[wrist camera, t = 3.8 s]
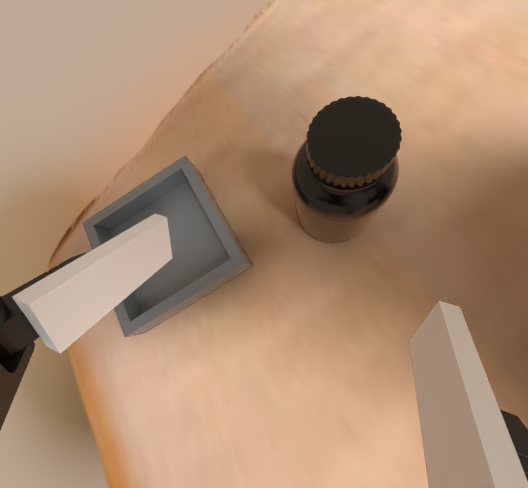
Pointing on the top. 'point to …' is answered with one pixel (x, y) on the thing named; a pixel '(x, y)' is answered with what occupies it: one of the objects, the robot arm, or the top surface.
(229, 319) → the top surface
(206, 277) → the tray
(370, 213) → the supplement bottle
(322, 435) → the top surface
